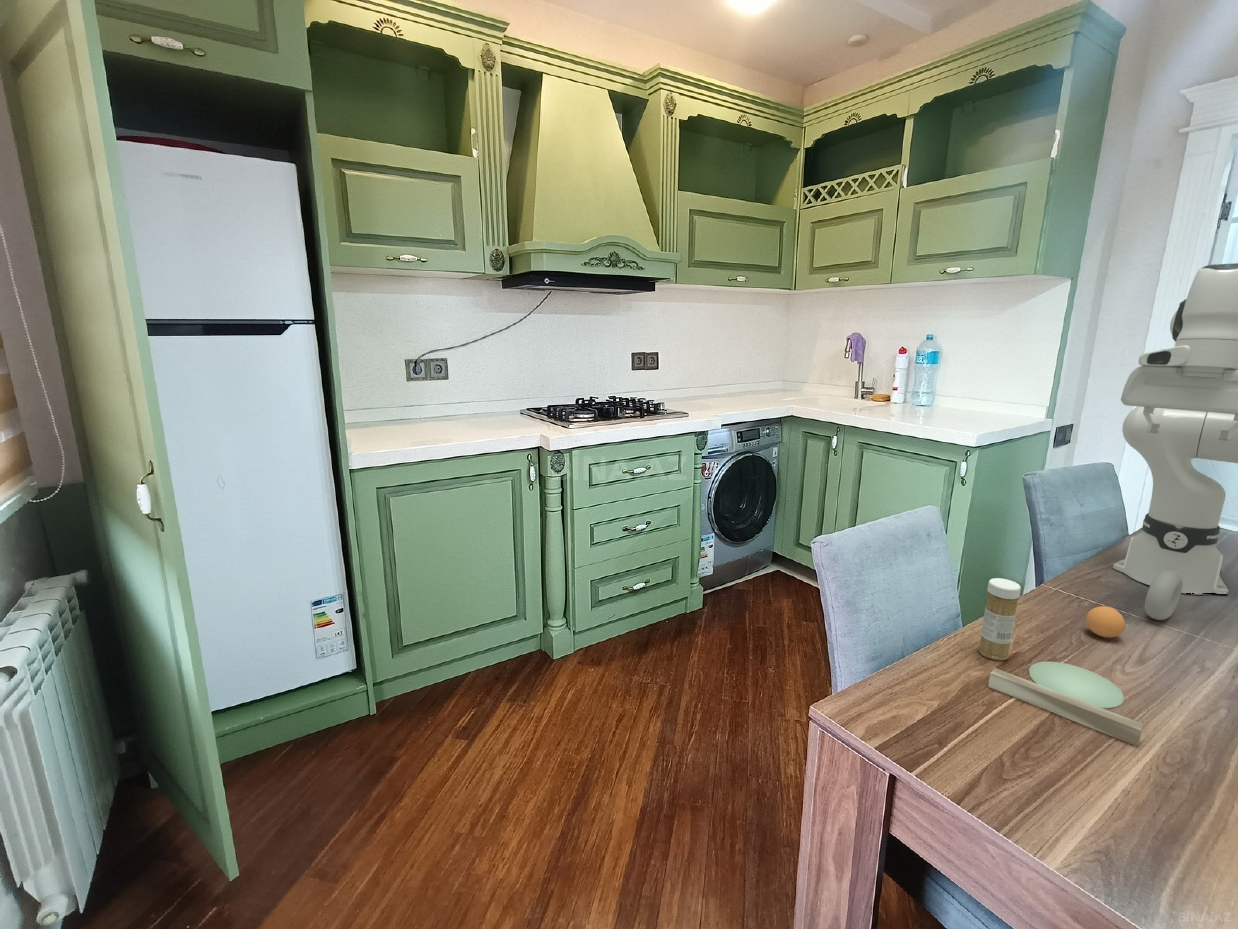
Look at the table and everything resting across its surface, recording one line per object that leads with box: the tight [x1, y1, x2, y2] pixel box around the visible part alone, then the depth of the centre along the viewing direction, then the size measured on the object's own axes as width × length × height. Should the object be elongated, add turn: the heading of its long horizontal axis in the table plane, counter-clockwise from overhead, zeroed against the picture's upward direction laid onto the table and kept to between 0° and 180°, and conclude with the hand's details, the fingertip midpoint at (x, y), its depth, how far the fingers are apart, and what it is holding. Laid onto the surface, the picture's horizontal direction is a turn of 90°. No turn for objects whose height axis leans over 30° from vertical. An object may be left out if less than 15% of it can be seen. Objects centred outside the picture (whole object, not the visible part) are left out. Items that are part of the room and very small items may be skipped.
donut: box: [1144, 570, 1183, 621], centre depth 112 cm, size 10×4×10 cm, turn 124°
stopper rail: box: [987, 667, 1144, 747], centre depth 86 cm, size 2×18×2 cm, turn 42°
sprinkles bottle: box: [977, 577, 1022, 662], centre depth 100 cm, size 5×5×14 cm
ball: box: [1085, 605, 1126, 639], centre depth 107 cm, size 6×6×6 cm
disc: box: [1028, 661, 1125, 709], centre depth 93 cm, size 12×12×1 cm
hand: (1187, 436), depth 105 cm, fingers open, 8 cm apart
